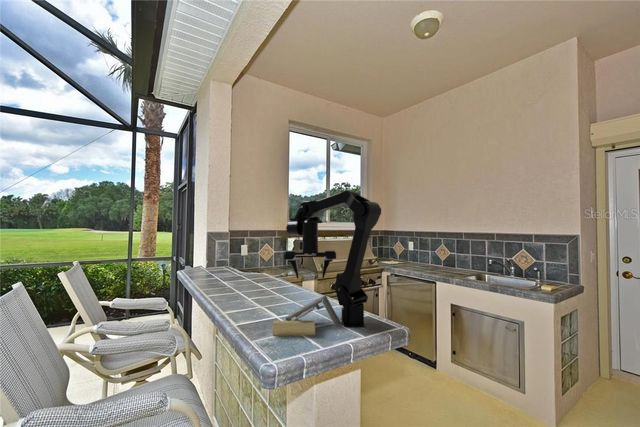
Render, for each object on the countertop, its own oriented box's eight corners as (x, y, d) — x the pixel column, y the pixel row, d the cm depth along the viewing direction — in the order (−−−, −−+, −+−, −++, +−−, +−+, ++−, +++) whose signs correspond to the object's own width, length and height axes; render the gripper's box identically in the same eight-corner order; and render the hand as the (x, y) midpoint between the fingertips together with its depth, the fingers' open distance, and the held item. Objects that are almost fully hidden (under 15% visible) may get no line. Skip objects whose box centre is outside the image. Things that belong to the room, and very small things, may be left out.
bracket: (336, 334, 81) (319, 302, 82) (294, 356, 83) (278, 325, 84) (340, 321, 91) (325, 294, 93) (302, 341, 93) (288, 314, 95)
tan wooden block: (315, 331, 83) (315, 319, 83) (315, 335, 80) (315, 322, 80) (274, 331, 83) (274, 319, 83) (272, 335, 80) (272, 323, 80)
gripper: (334, 234, 112) (334, 274, 111) (287, 235, 112) (287, 275, 111) (335, 235, 101) (336, 279, 100) (283, 236, 101) (283, 280, 100)
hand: (310, 278), depth 103 cm, fingers open, 9 cm apart
